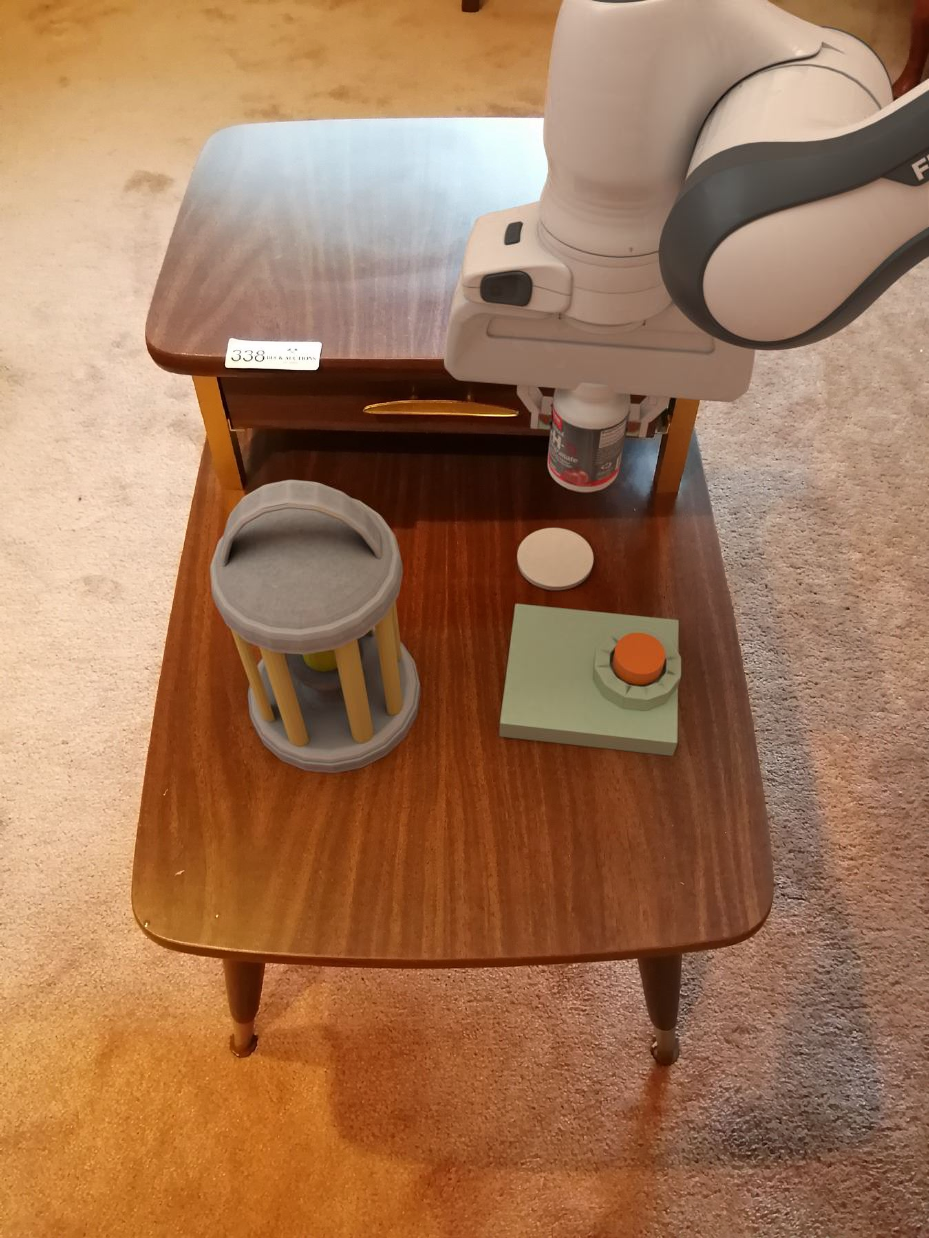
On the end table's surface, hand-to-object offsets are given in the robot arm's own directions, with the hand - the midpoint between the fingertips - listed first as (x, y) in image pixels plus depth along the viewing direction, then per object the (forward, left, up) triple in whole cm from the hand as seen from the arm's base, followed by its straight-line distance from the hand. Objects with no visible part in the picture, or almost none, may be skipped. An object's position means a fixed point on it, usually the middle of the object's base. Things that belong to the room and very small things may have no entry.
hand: (587, 427), depth 71 cm
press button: (-6, +8, -18) cm, 20 cm away
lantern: (+18, +12, -22) cm, 31 cm away
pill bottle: (0, 0, -4) cm, 4 cm away
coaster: (+1, -5, -21) cm, 22 cm away
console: (-3, +8, -21) cm, 23 cm away
